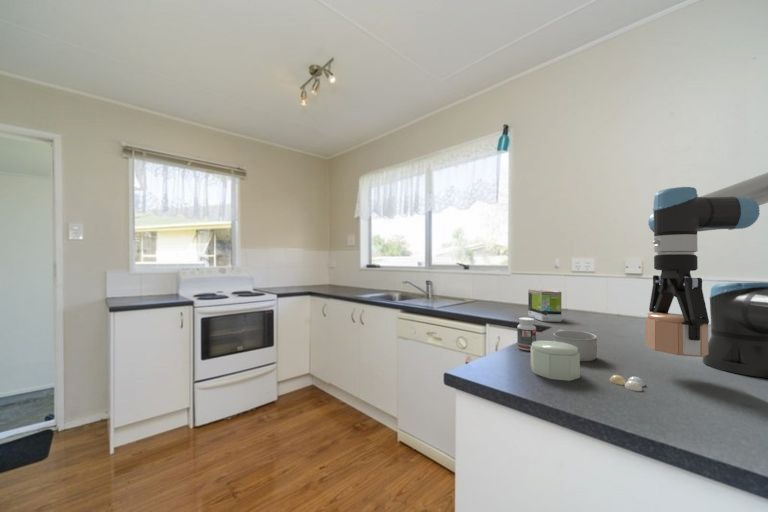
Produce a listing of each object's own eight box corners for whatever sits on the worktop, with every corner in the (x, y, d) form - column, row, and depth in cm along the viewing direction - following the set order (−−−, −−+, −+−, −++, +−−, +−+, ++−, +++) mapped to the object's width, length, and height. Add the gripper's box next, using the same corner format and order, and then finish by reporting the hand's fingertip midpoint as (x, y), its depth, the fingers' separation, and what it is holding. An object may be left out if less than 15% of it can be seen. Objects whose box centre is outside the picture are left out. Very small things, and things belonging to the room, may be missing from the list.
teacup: (604, 369, 83) (604, 339, 84) (560, 366, 86) (560, 337, 86) (582, 354, 97) (582, 328, 97) (545, 352, 99) (545, 326, 99)
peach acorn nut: (687, 346, 77) (687, 313, 77) (718, 358, 67) (718, 321, 67) (639, 343, 79) (639, 311, 79) (662, 354, 70) (662, 318, 70)
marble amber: (622, 386, 71) (622, 373, 71) (628, 392, 68) (628, 378, 68) (607, 385, 72) (607, 372, 72) (613, 390, 69) (612, 377, 69)
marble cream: (638, 393, 68) (637, 379, 68) (645, 398, 65) (645, 384, 65) (622, 391, 69) (622, 377, 69) (628, 397, 66) (628, 382, 66)
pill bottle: (537, 351, 99) (536, 320, 99) (517, 350, 101) (517, 319, 102) (535, 347, 105) (535, 317, 105) (517, 345, 107) (517, 316, 107)
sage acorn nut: (570, 373, 80) (570, 342, 80) (584, 388, 70) (584, 353, 70) (528, 369, 83) (528, 339, 83) (536, 383, 73) (535, 349, 73)
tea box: (562, 321, 150) (562, 291, 150) (541, 321, 150) (541, 291, 151) (546, 316, 165) (546, 288, 165) (527, 316, 165) (527, 288, 166)
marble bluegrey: (640, 388, 70) (640, 375, 70) (647, 393, 67) (647, 380, 68) (624, 387, 71) (624, 373, 71) (631, 392, 68) (631, 378, 68)
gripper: (632, 255, 86) (633, 336, 85) (687, 252, 64) (688, 361, 63) (665, 255, 83) (666, 338, 83) (733, 252, 62) (735, 364, 61)
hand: (675, 348), depth 73 cm, fingers closed on peach acorn nut, 10 cm apart
